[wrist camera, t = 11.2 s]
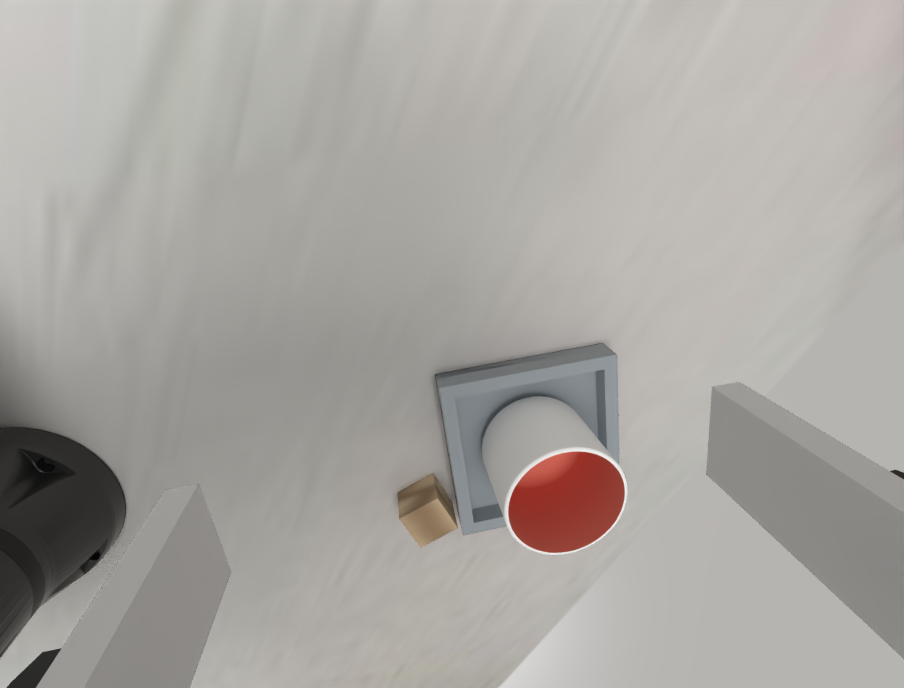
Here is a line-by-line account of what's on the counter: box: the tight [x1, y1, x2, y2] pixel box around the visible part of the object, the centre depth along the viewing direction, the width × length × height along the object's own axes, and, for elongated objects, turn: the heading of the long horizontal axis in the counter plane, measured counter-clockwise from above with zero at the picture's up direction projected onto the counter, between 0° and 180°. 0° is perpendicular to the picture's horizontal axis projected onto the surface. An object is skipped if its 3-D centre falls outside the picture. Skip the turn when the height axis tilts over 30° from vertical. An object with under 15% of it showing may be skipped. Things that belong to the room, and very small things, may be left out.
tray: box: [435, 343, 619, 535], centre depth 47 cm, size 16×16×3 cm
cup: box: [482, 396, 628, 555], centre depth 43 cm, size 10×10×10 cm
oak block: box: [398, 474, 458, 547], centre depth 48 cm, size 4×4×4 cm
